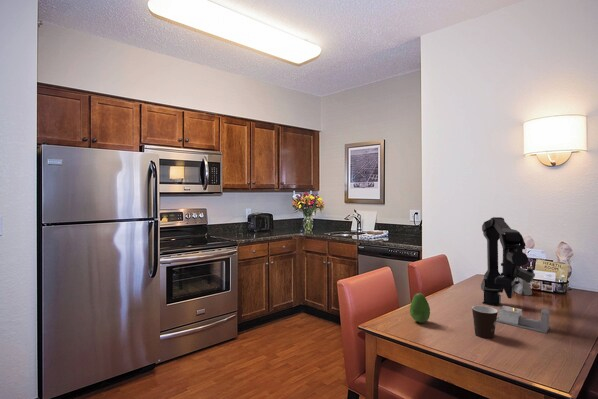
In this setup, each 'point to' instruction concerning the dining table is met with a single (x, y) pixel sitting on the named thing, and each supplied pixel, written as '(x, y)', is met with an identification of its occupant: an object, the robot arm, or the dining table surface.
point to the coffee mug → (484, 321)
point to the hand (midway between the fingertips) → (509, 298)
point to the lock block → (510, 315)
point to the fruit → (420, 308)
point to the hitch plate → (533, 322)
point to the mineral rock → (523, 287)
